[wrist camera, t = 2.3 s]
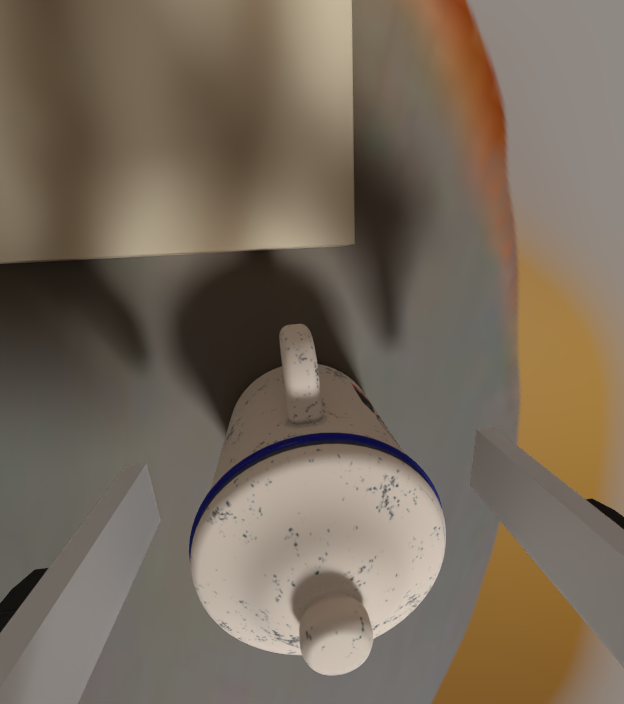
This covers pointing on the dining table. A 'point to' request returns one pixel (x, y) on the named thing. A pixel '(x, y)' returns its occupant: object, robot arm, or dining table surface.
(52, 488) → the dining table surface
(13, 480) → the dining table surface
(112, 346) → the dining table surface
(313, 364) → the teacup with lid
